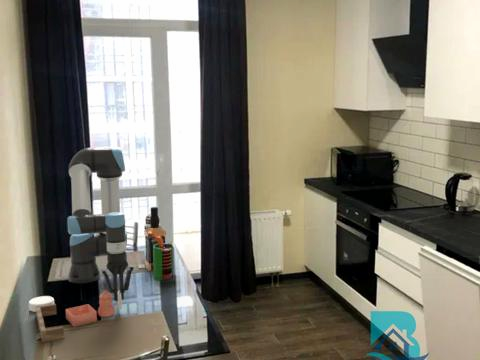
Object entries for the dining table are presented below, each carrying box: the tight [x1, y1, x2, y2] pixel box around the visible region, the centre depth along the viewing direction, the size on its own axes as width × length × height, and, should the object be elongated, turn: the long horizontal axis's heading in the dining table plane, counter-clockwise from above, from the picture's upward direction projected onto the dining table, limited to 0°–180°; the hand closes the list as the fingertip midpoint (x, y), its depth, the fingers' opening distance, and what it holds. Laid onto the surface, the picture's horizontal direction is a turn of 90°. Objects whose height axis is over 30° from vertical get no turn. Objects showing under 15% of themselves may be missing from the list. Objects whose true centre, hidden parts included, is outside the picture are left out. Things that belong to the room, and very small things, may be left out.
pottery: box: [65, 289, 115, 328], centre depth 206 cm, size 18×10×10 cm, turn 125°
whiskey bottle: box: [144, 206, 167, 273], centre depth 266 cm, size 10×10×32 cm
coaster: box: [28, 295, 55, 313], centre depth 217 cm, size 10×10×4 cm
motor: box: [153, 236, 174, 281], centre depth 253 cm, size 10×9×20 cm
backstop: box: [35, 303, 65, 343], centre depth 198 cm, size 26×8×4 cm, turn 25°
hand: (119, 307), depth 211 cm, fingers closed
